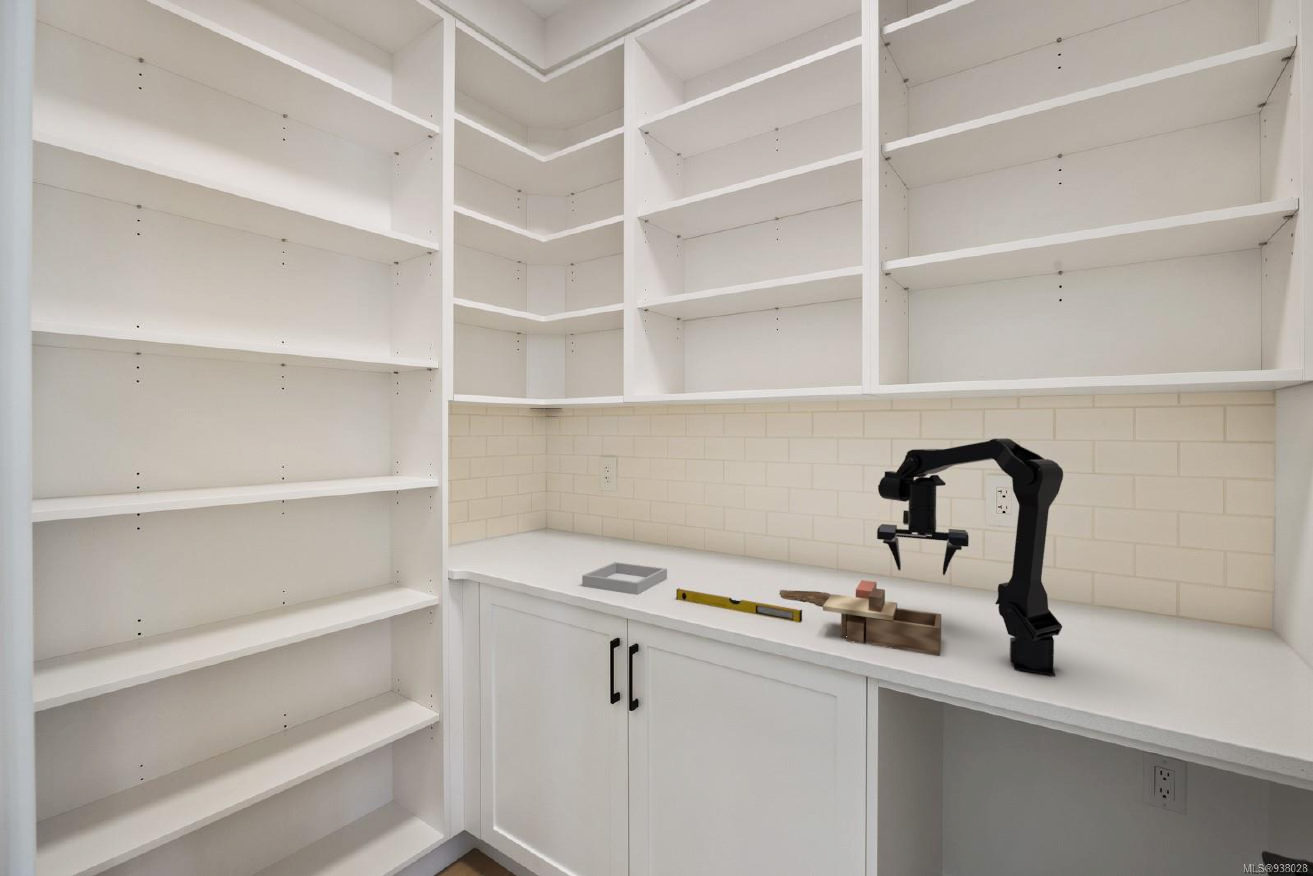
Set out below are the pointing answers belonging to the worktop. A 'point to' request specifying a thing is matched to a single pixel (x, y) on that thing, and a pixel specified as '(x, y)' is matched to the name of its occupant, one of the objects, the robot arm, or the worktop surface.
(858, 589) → the pink rectangular block
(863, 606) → the lid
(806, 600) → the wooden fragment
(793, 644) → the worktop surface
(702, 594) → the spirit level
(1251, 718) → the worktop surface
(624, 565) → the parts corral
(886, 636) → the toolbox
